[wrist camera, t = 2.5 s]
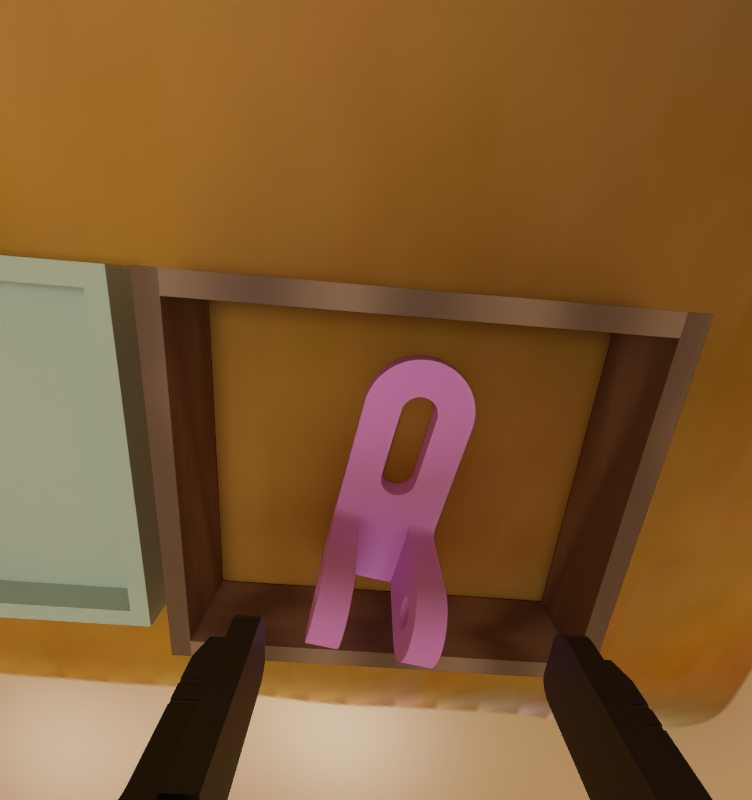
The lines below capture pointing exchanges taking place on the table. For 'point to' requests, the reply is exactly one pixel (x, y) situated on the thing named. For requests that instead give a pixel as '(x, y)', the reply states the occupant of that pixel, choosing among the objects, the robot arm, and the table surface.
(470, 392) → the bracket
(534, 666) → the crate
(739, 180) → the table surface
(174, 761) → the robot arm
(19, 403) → the tray
